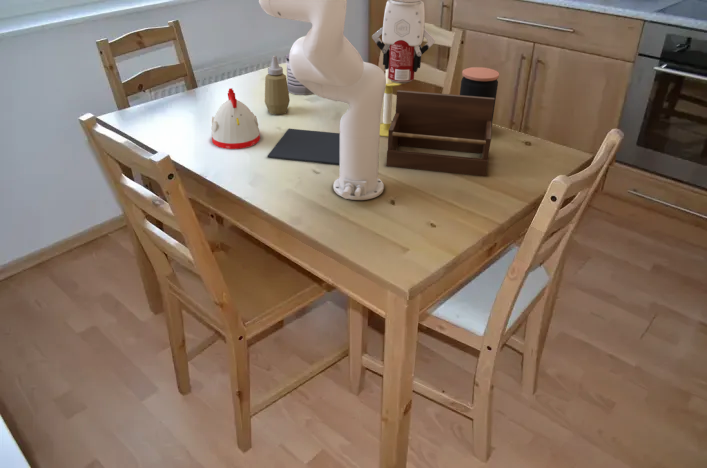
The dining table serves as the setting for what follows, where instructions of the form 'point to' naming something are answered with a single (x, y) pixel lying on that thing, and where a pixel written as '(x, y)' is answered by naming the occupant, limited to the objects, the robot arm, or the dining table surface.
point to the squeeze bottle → (276, 89)
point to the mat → (308, 147)
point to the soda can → (401, 62)
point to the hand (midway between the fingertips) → (401, 68)
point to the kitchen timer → (234, 125)
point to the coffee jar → (480, 83)
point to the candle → (387, 106)
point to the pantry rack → (440, 131)
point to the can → (295, 82)
